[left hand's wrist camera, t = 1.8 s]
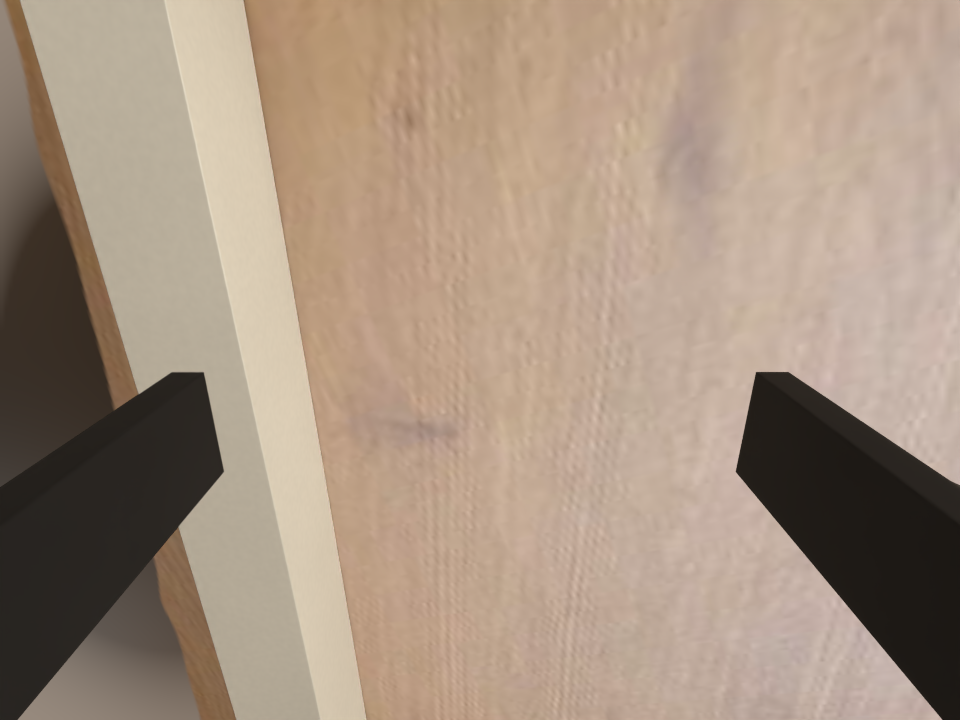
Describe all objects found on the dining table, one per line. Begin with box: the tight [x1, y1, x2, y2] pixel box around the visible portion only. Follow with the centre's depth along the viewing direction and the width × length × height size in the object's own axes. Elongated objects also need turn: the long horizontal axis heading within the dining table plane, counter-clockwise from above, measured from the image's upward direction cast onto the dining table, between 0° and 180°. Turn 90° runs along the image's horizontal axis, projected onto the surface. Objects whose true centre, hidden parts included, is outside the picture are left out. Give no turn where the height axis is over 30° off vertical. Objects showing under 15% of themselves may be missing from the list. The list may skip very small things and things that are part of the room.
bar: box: [20, 0, 367, 720], centre depth 34 cm, size 68×6×8 cm, turn 2°
